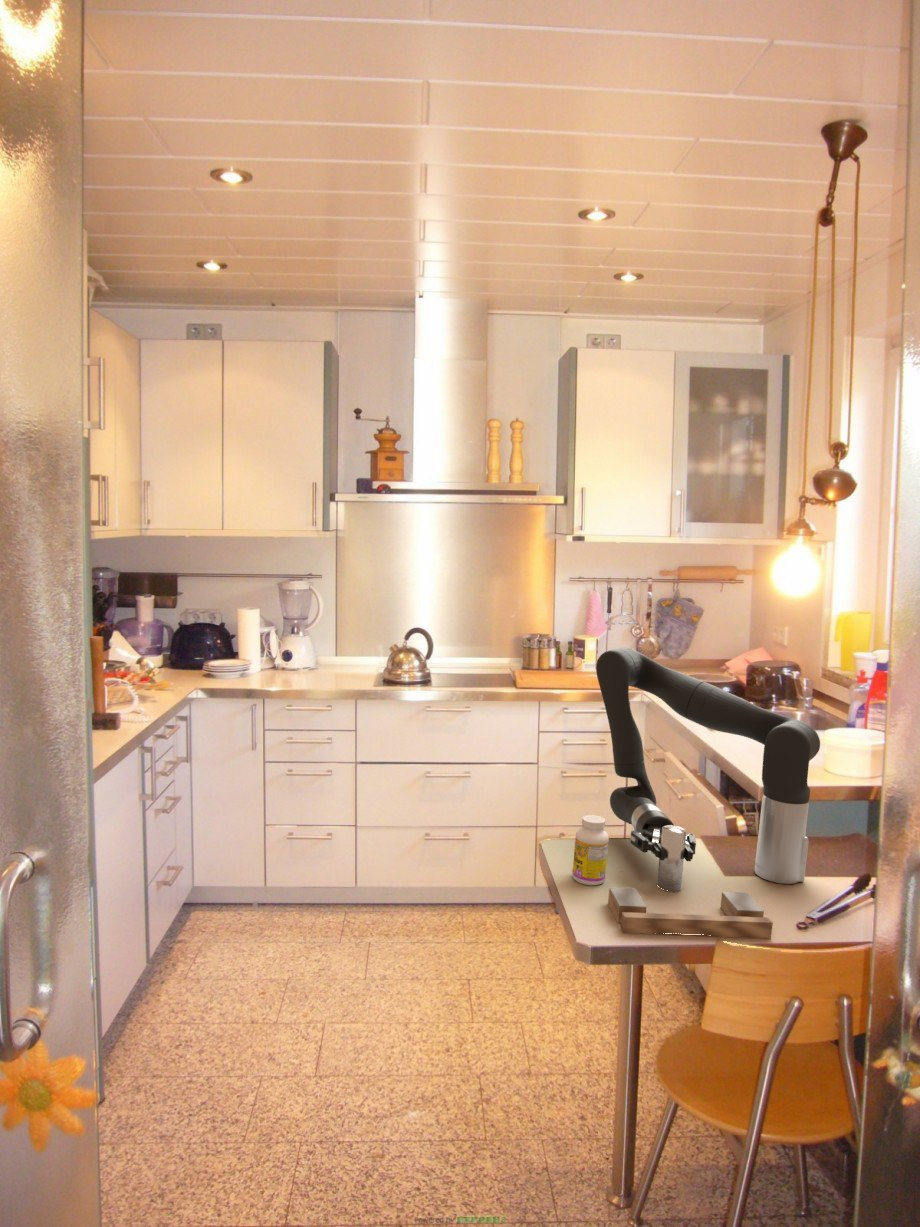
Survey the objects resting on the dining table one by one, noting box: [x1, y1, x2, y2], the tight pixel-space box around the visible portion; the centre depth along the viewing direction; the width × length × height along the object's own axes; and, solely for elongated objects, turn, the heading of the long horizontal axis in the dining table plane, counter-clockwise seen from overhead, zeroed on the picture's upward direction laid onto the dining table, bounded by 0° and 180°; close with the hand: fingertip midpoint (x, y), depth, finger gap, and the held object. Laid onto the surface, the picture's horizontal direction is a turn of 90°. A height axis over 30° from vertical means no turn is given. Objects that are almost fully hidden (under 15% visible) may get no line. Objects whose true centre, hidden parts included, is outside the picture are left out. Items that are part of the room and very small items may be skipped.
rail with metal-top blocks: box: [607, 886, 774, 939], centre depth 166 cm, size 27×12×3 cm, turn 94°
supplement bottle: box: [572, 814, 610, 886], centre depth 181 cm, size 7×7×13 cm
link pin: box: [656, 825, 688, 892], centre depth 181 cm, size 5×5×12 cm
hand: (676, 856), depth 178 cm, fingers closed on link pin, 4 cm apart
